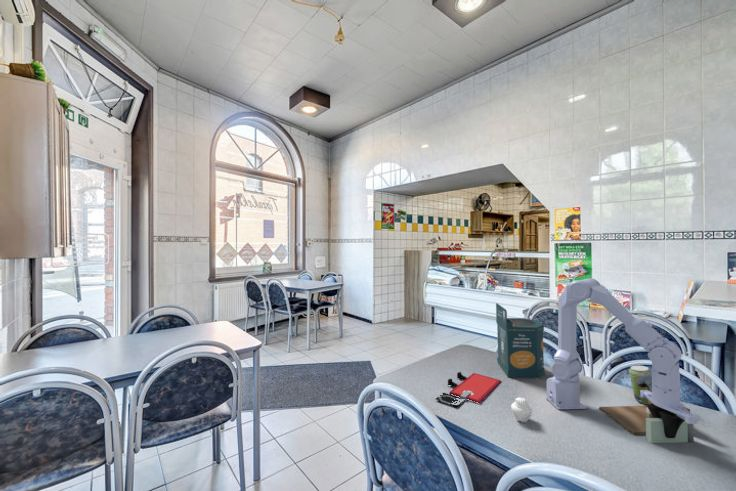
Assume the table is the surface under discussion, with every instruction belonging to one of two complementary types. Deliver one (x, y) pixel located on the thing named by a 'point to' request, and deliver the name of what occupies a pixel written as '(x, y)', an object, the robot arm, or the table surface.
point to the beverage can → (640, 381)
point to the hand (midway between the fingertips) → (666, 435)
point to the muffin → (521, 409)
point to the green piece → (658, 435)
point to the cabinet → (630, 417)
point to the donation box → (519, 345)
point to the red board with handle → (470, 388)
